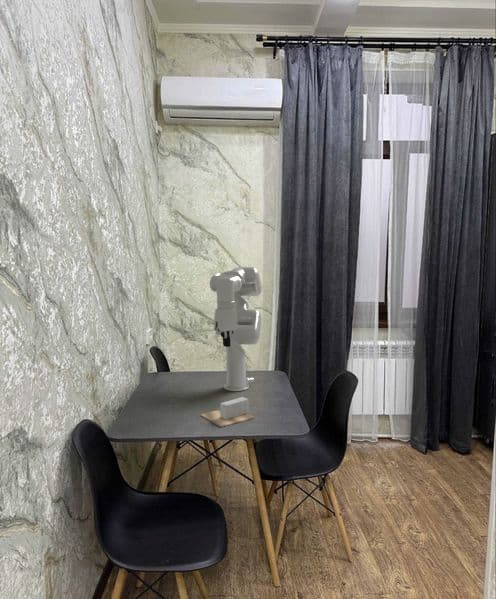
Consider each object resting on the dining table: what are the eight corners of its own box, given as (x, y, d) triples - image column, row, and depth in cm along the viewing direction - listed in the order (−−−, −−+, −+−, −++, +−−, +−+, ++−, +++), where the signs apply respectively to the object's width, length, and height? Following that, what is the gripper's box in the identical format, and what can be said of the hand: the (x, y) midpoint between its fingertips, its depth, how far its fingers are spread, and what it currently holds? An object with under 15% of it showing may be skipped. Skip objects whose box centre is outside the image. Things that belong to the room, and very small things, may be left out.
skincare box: (242, 396, 190) (219, 402, 182) (248, 399, 187) (226, 405, 179) (242, 410, 191) (220, 417, 183) (249, 413, 187) (226, 420, 180)
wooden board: (233, 407, 195) (233, 406, 195) (254, 418, 182) (254, 417, 182) (200, 415, 186) (200, 414, 186) (220, 427, 173) (220, 426, 173)
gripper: (234, 302, 204) (235, 342, 207) (206, 306, 195) (207, 347, 198) (244, 304, 199) (245, 345, 201) (216, 308, 189) (217, 350, 192)
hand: (226, 346), depth 199 cm, fingers closed
